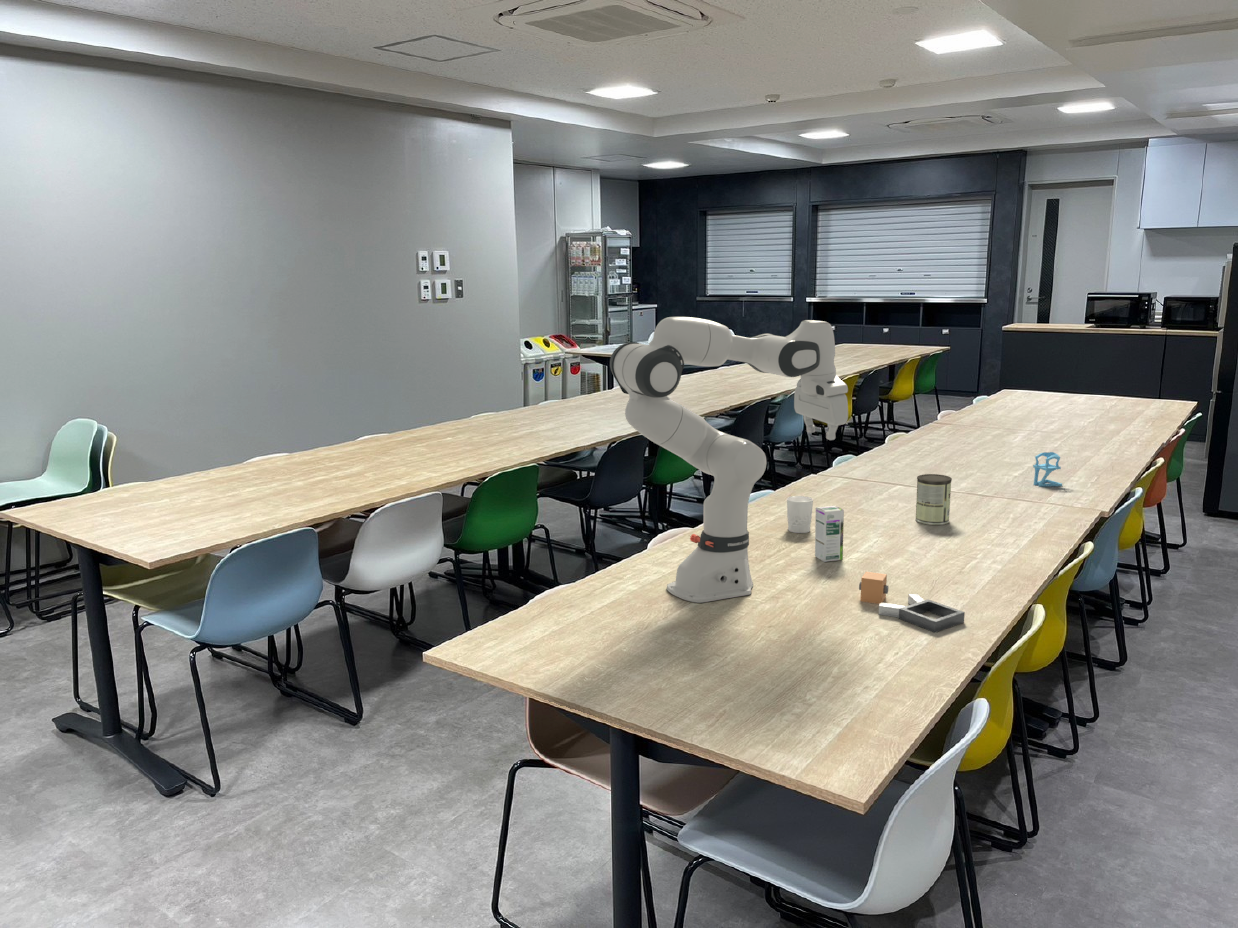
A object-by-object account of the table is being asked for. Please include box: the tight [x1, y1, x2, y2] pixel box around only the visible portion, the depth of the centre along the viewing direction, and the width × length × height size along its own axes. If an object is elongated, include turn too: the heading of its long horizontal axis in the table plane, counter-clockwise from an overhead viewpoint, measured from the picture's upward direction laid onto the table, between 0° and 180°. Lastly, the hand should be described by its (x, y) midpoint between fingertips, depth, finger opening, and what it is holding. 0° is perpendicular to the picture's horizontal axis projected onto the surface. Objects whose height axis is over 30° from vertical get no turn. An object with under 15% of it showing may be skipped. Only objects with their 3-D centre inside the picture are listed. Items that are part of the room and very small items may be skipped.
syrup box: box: [814, 505, 845, 563], centre depth 249 cm, size 6×6×14 cm
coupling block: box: [858, 571, 889, 605], centre depth 219 cm, size 5×7×6 cm
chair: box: [1032, 451, 1063, 488], centre depth 328 cm, size 8×8×12 cm
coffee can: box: [915, 473, 953, 526], centre depth 284 cm, size 10×10×14 cm
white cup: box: [786, 495, 814, 534], centre depth 277 cm, size 8×8×10 cm
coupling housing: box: [878, 593, 965, 633], centre depth 207 cm, size 13×16×2 cm
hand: (820, 435), depth 233 cm, fingers open, 8 cm apart
